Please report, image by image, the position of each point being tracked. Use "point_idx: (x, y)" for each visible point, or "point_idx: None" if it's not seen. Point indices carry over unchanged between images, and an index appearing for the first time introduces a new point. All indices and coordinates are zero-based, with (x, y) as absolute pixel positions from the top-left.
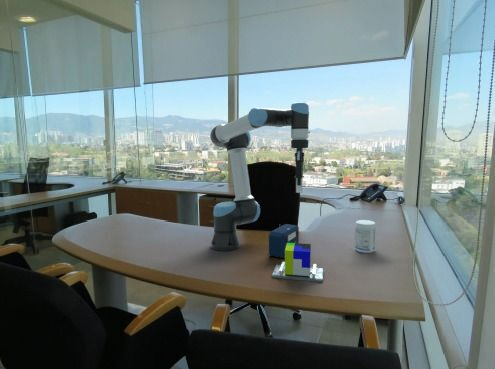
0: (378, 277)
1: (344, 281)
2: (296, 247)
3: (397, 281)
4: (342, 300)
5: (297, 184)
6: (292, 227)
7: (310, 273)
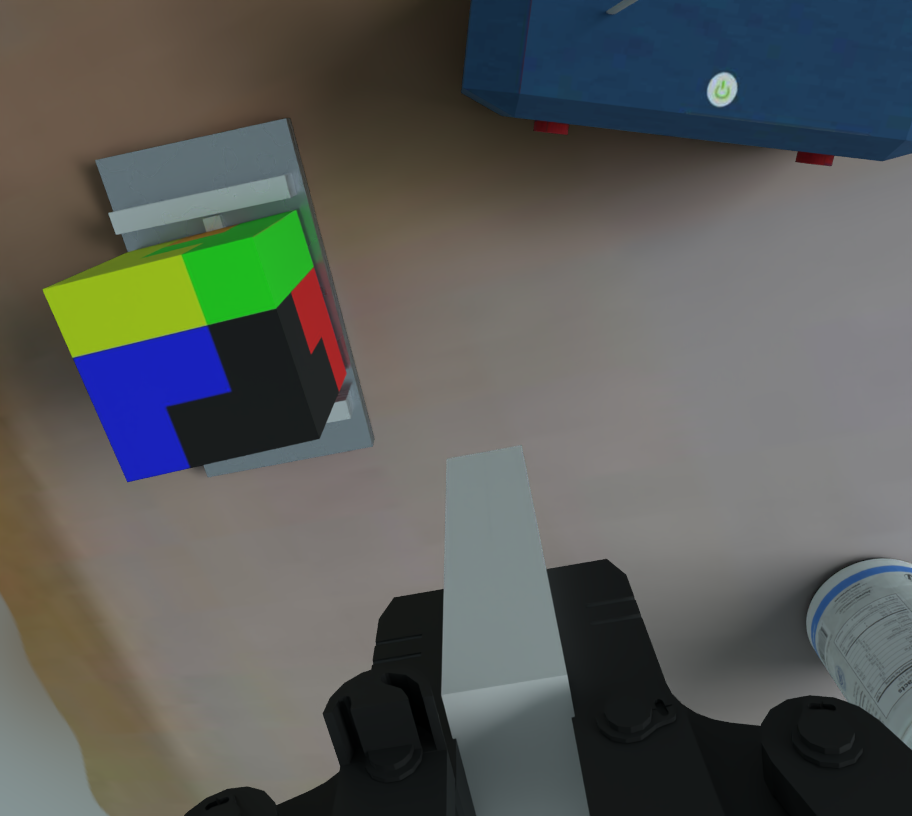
0: None
1: (286, 568)
2: (168, 356)
3: None
4: (63, 590)
5: (382, 617)
6: (801, 116)
7: None
